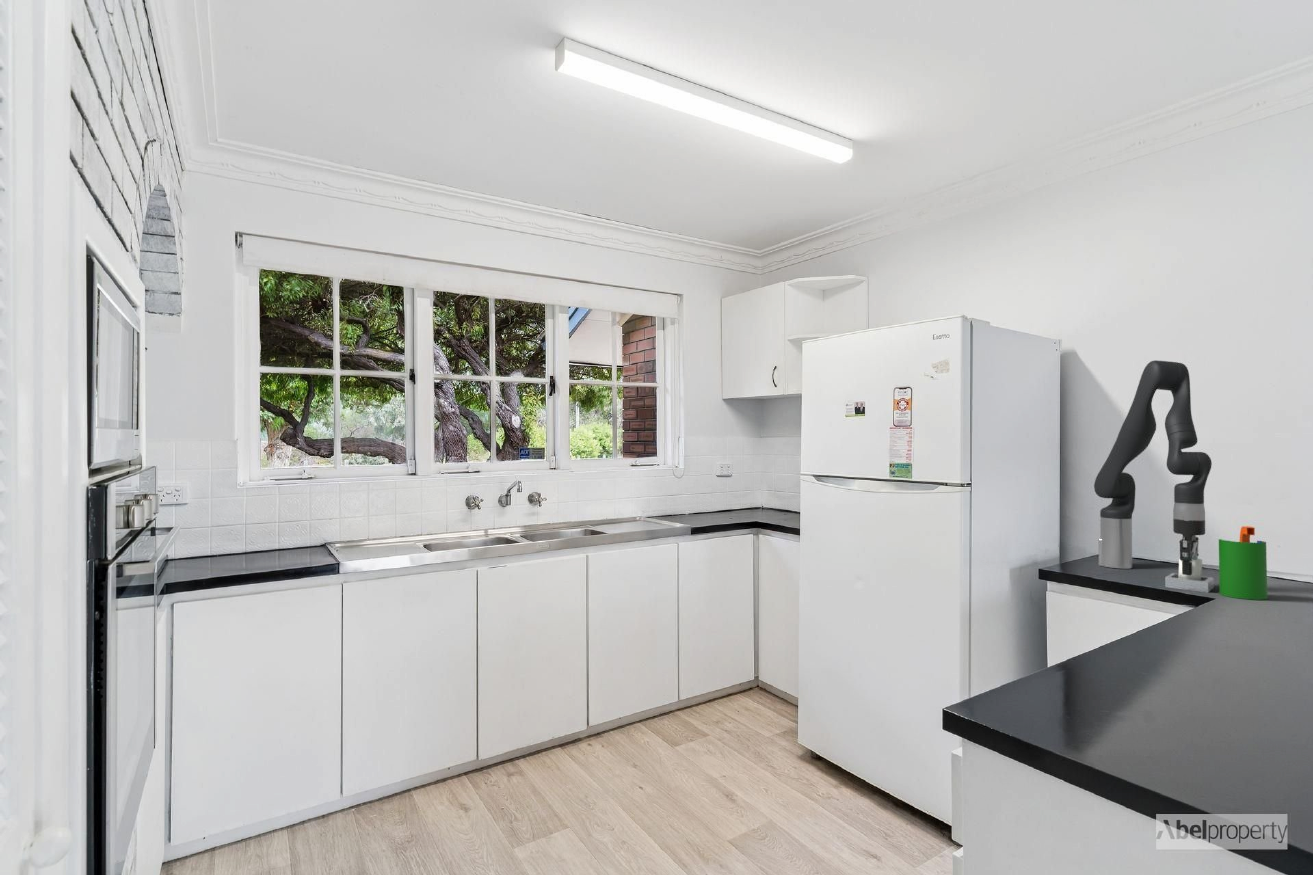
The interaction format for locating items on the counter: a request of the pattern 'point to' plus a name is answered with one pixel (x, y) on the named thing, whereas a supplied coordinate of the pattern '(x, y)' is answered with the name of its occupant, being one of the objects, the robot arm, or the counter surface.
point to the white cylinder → (1195, 569)
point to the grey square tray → (1189, 583)
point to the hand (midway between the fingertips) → (1189, 573)
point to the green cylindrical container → (1243, 567)
